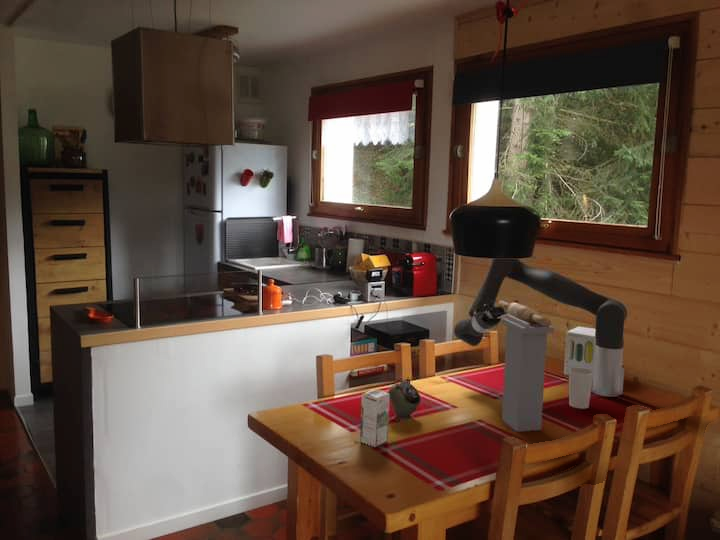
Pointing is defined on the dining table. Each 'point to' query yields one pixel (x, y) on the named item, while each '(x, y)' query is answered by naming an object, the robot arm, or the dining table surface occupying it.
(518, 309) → the rolling pin
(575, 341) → the supplement box
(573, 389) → the cup
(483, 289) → the robot arm
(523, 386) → the stand
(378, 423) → the syrup box
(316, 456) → the dining table surface
